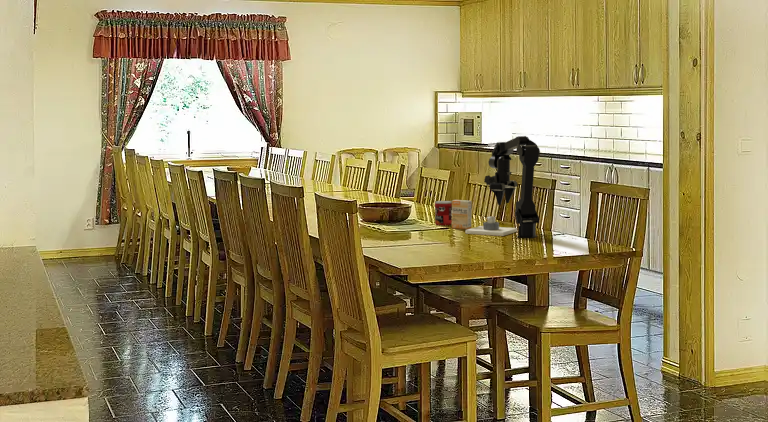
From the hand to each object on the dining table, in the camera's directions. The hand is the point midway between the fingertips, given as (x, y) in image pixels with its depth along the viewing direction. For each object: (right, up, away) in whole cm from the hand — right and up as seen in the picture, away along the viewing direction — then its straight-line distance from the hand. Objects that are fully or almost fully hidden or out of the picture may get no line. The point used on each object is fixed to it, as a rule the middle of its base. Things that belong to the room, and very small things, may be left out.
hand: (503, 204), depth 430 cm
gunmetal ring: (-6, -11, -6) cm, 14 cm away
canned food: (-26, -10, +24) cm, 37 cm away
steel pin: (-6, -11, -6) cm, 14 cm away
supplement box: (-18, -11, +10) cm, 24 cm away
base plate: (-6, -13, -5) cm, 15 cm away
